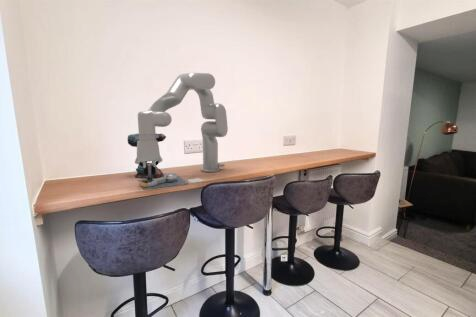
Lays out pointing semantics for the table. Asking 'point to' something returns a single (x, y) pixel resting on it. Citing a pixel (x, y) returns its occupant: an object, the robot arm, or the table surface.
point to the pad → (195, 180)
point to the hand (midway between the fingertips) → (149, 174)
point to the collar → (159, 180)
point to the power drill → (133, 142)
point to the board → (166, 183)
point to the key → (149, 171)
